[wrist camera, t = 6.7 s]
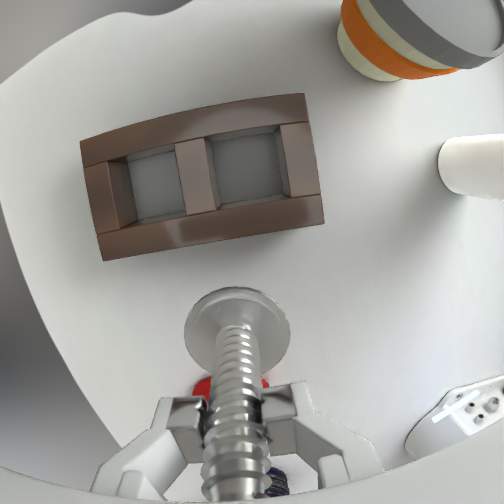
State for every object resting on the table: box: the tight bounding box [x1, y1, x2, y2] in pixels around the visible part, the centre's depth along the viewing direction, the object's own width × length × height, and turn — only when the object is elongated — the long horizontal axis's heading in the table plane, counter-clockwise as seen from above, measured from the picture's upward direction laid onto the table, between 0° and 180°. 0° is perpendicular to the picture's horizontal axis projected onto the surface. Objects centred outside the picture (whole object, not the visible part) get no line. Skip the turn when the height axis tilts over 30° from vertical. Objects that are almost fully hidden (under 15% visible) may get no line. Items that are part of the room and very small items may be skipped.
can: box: [438, 134, 504, 202], centre depth 23 cm, size 6×6×12 cm
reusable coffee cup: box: [337, 0, 504, 82], centre depth 18 cm, size 13×13×15 cm
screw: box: [184, 286, 290, 502], centre depth 10 cm, size 13×5×5 cm
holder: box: [80, 93, 325, 261], centre depth 27 cm, size 11×20×5 cm, turn 99°
